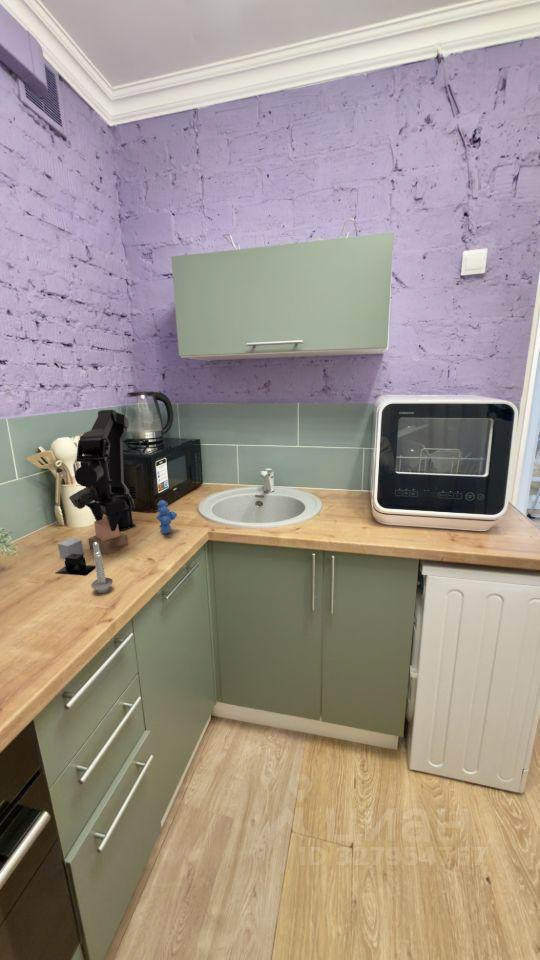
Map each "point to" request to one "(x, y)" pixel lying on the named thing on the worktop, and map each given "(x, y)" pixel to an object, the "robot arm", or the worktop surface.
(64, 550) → the slate cube
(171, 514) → the grapes
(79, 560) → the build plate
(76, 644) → the worktop surface
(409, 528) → the worktop surface
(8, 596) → the worktop surface
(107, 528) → the terracotta cube
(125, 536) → the walnut block
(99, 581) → the screw
